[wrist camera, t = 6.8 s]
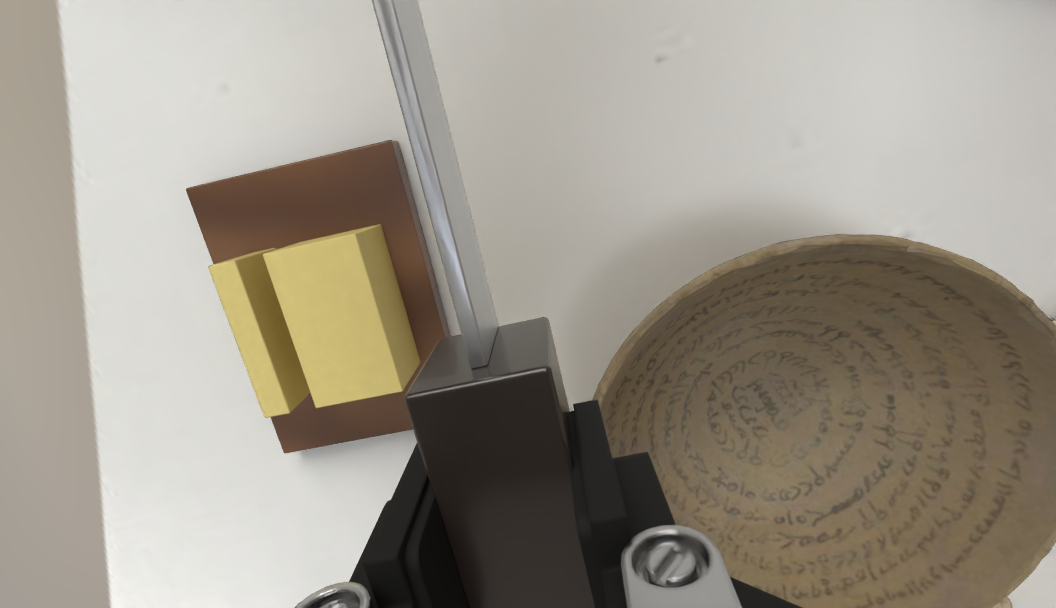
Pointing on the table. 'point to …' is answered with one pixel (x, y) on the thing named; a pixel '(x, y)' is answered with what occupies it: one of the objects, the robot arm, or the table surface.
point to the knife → (485, 385)
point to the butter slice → (261, 332)
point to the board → (317, 211)
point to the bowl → (850, 421)
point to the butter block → (345, 315)
